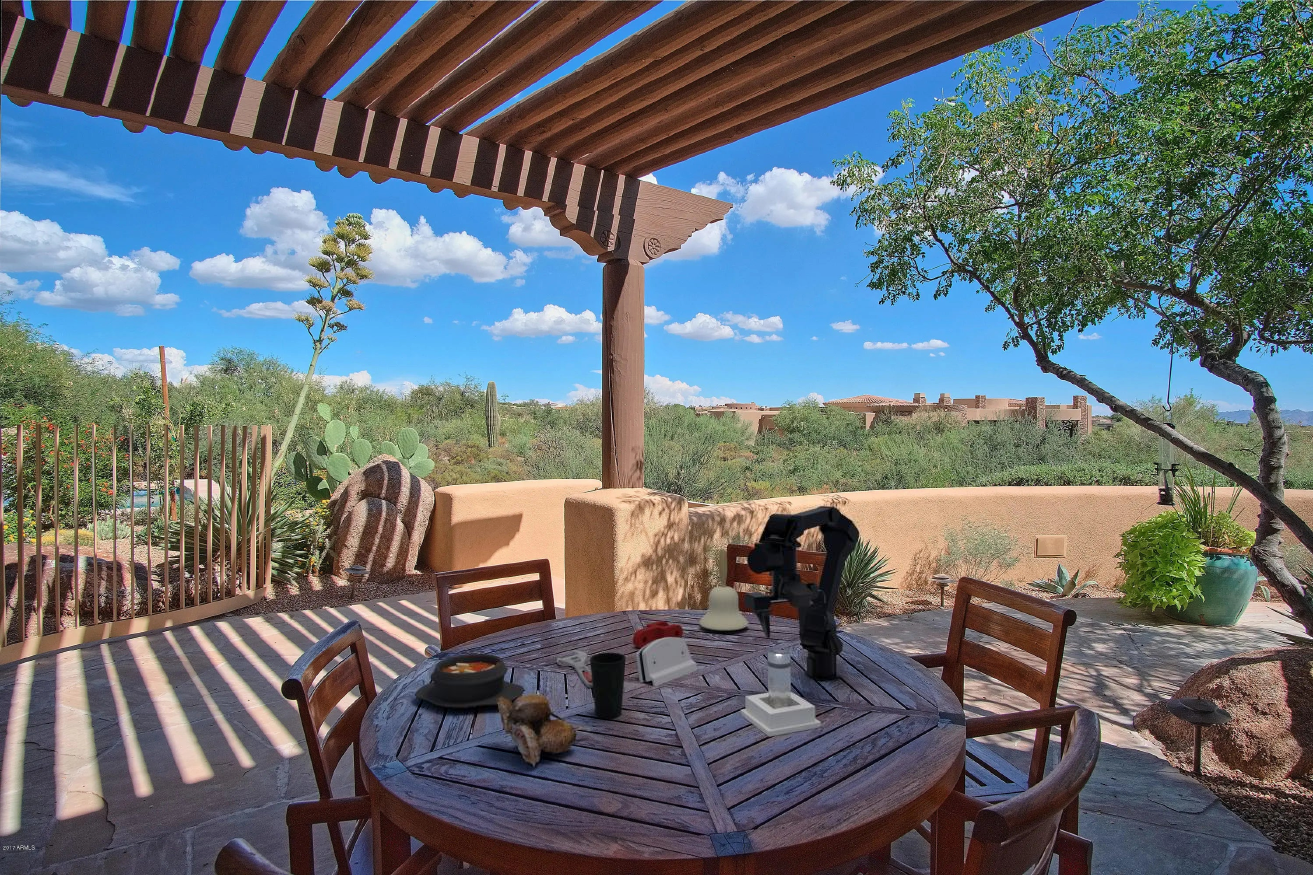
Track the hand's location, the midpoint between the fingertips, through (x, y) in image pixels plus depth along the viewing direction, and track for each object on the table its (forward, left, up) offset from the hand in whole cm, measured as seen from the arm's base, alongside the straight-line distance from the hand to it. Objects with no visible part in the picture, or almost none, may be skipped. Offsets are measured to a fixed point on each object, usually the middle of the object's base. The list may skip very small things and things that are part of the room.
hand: (785, 635), depth 159 cm
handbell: (-11, -55, -13) cm, 58 cm away
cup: (+42, -3, -13) cm, 44 cm away
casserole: (+69, -23, -13) cm, 74 cm away
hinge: (+21, -22, -13) cm, 33 cm away
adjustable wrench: (+41, -33, -14) cm, 54 cm away
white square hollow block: (+10, +14, -13) cm, 22 cm away
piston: (+10, +14, -12) cm, 21 cm away
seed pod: (+60, +10, -13) cm, 62 cm away
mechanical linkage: (+14, -49, -14) cm, 52 cm away
